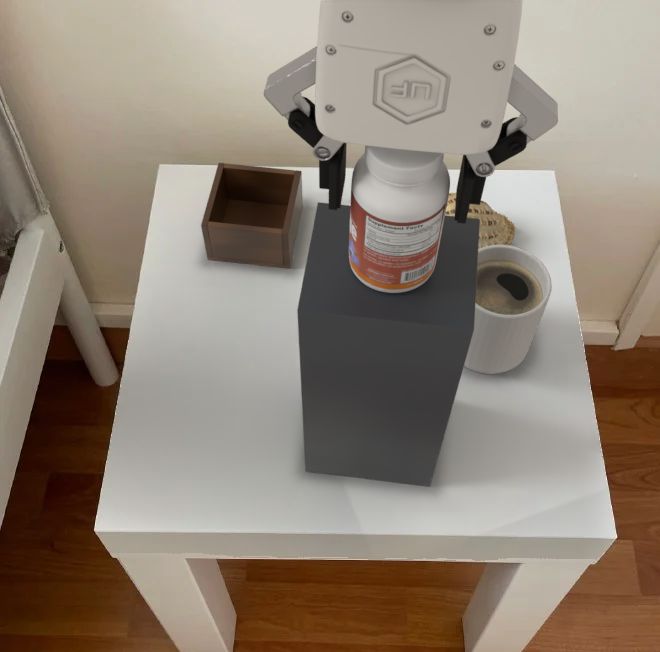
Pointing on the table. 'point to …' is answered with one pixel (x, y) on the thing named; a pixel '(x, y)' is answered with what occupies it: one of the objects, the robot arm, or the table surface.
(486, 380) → the table surface
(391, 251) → the pill bottle
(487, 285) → the mug
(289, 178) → the wooden box
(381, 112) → the robot arm
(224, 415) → the table surface
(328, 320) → the block
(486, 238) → the seashell
